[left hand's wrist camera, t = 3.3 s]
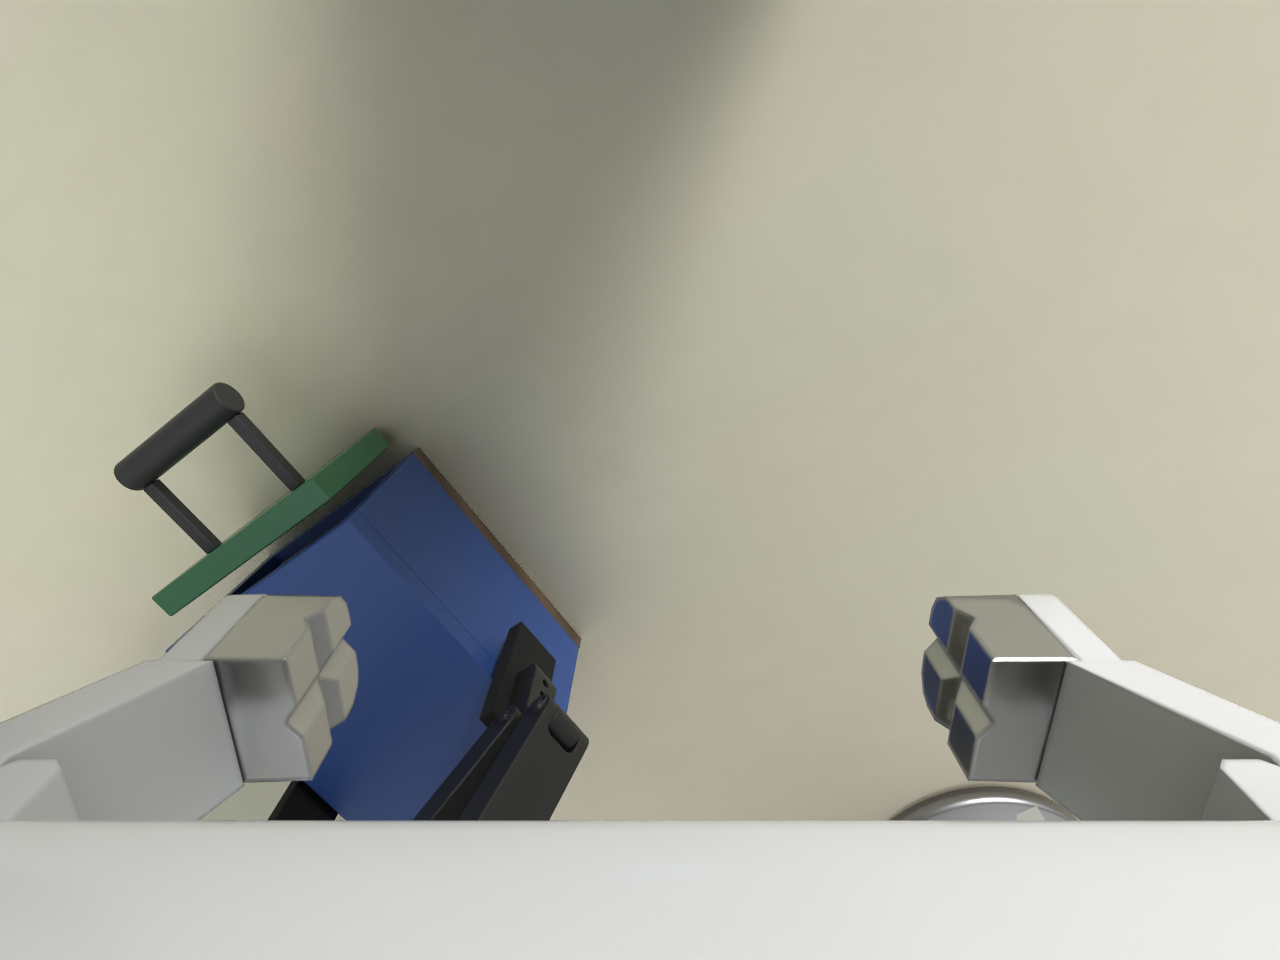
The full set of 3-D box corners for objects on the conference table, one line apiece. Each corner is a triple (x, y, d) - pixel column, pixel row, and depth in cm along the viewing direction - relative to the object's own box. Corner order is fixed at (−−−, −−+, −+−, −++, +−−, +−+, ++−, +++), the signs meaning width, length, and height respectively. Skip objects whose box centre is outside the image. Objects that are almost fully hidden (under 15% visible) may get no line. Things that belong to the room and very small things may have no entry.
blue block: (268, 556, 42) (163, 652, 33) (418, 447, 39) (348, 519, 31) (435, 727, 46) (380, 854, 37) (581, 638, 43) (560, 751, 34)
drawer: (161, 450, 39) (51, 505, 32) (299, 338, 36) (213, 370, 30) (398, 694, 44) (348, 787, 37) (532, 609, 42) (506, 691, 35)
